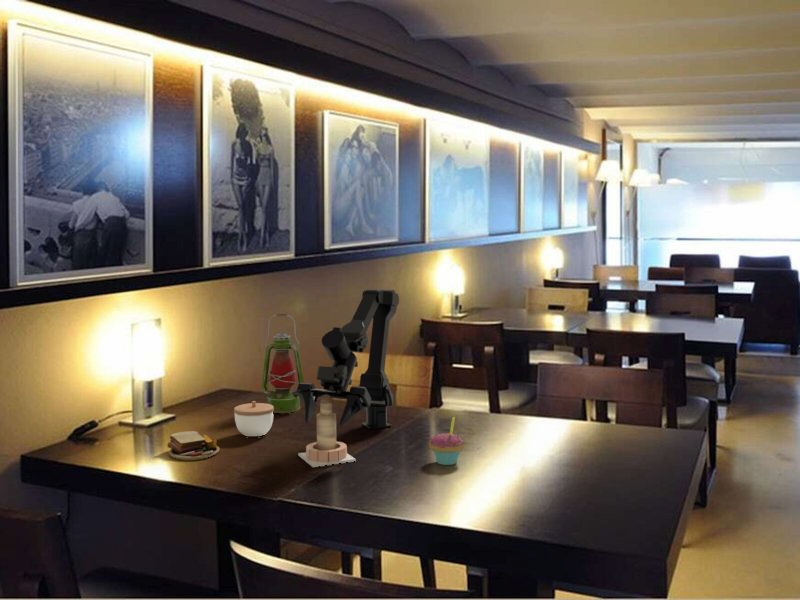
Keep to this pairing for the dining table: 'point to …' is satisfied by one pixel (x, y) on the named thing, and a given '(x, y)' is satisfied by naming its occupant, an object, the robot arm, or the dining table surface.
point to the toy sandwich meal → (191, 446)
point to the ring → (326, 455)
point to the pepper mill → (326, 425)
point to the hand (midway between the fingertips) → (323, 423)
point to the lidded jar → (254, 418)
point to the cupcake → (446, 446)
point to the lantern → (282, 372)
